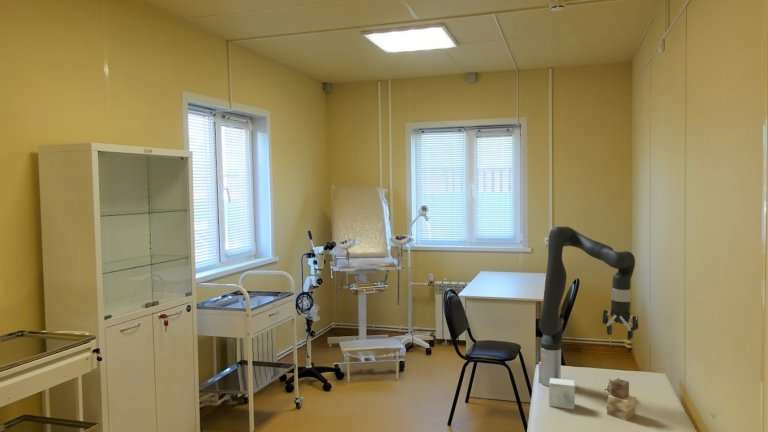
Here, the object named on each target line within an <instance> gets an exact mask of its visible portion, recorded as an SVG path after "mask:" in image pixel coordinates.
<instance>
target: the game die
mask: <svg viewBox="0 0 768 432" xmlns="http://www.w3.org/2000/svg"><path fill="white" fill-rule="evenodd" d="M617 379H620V378H619V377H617ZM614 380H615V379H613V380H612V379H609V380H608V381H609V382H608V385H607V387H606V388H605V389H604V391H607V392H608V393H609V395H611V382H612V381H614Z"/></svg>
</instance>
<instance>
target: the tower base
mask: <svg viewBox="0 0 768 432" xmlns="http://www.w3.org/2000/svg"><path fill="white" fill-rule="evenodd" d="M606 415H607V416H611V417H614V418H615V419H616V418H617V419H621V420H623V421H628V420H629V419H631V418H632V417H634V416H635V415H636V406H635V407H633V408H632V409H630V410H628V411H624V410H620V409H617V408H614V407H610V406H608V404H607V406H606Z"/></svg>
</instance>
